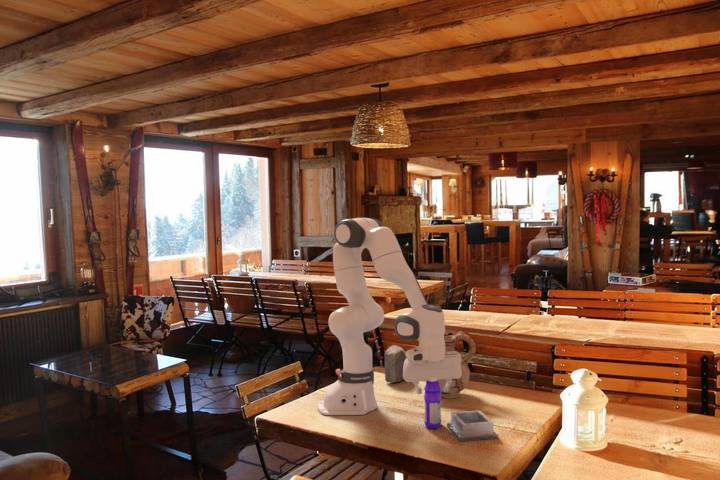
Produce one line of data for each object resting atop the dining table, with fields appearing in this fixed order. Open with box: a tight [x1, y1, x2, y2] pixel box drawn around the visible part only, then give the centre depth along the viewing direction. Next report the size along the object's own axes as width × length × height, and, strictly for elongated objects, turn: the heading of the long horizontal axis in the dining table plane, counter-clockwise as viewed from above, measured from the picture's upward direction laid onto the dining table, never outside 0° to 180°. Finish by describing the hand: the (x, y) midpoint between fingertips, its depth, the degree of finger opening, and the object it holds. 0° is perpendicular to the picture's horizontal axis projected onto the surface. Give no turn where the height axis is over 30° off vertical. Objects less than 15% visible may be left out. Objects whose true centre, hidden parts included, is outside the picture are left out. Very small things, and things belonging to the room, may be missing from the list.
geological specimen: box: [383, 344, 407, 384], centre depth 241 cm, size 11×6×15 cm, turn 147°
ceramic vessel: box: [438, 333, 477, 399], centre depth 221 cm, size 18×19×25 cm
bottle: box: [423, 378, 442, 430], centre depth 190 cm, size 7×6×17 cm
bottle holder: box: [446, 409, 499, 443], centre depth 184 cm, size 13×13×5 cm
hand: (432, 392), depth 190 cm, fingers open, 8 cm apart
